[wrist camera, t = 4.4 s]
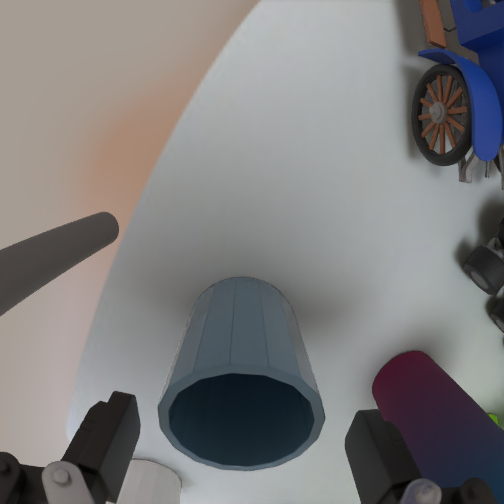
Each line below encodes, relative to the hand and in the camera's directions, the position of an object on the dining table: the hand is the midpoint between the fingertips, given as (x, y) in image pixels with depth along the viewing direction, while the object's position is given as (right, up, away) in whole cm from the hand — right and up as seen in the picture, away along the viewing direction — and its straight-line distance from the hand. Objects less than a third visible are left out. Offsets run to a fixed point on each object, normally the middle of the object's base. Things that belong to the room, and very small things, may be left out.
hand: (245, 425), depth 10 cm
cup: (+11, -3, +10) cm, 15 cm away
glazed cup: (0, +2, +8) cm, 8 cm away
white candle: (-9, -15, +12) cm, 21 cm away
